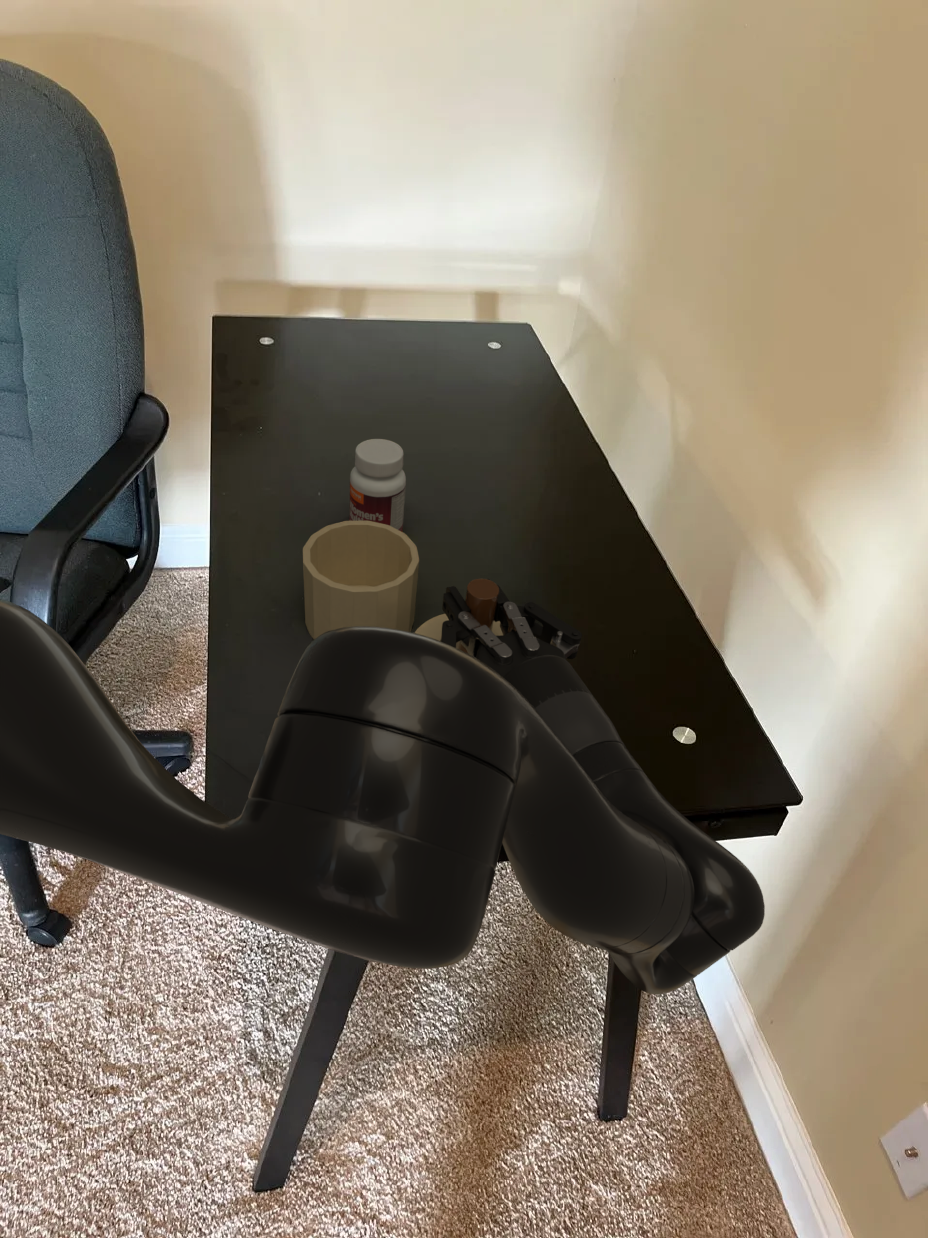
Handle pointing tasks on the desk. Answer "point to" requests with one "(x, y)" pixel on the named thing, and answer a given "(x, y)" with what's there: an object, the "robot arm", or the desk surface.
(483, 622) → the lid
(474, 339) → the desk surface
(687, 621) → the desk surface
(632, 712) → the desk surface
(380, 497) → the pill bottle
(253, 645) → the desk surface
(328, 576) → the canister
